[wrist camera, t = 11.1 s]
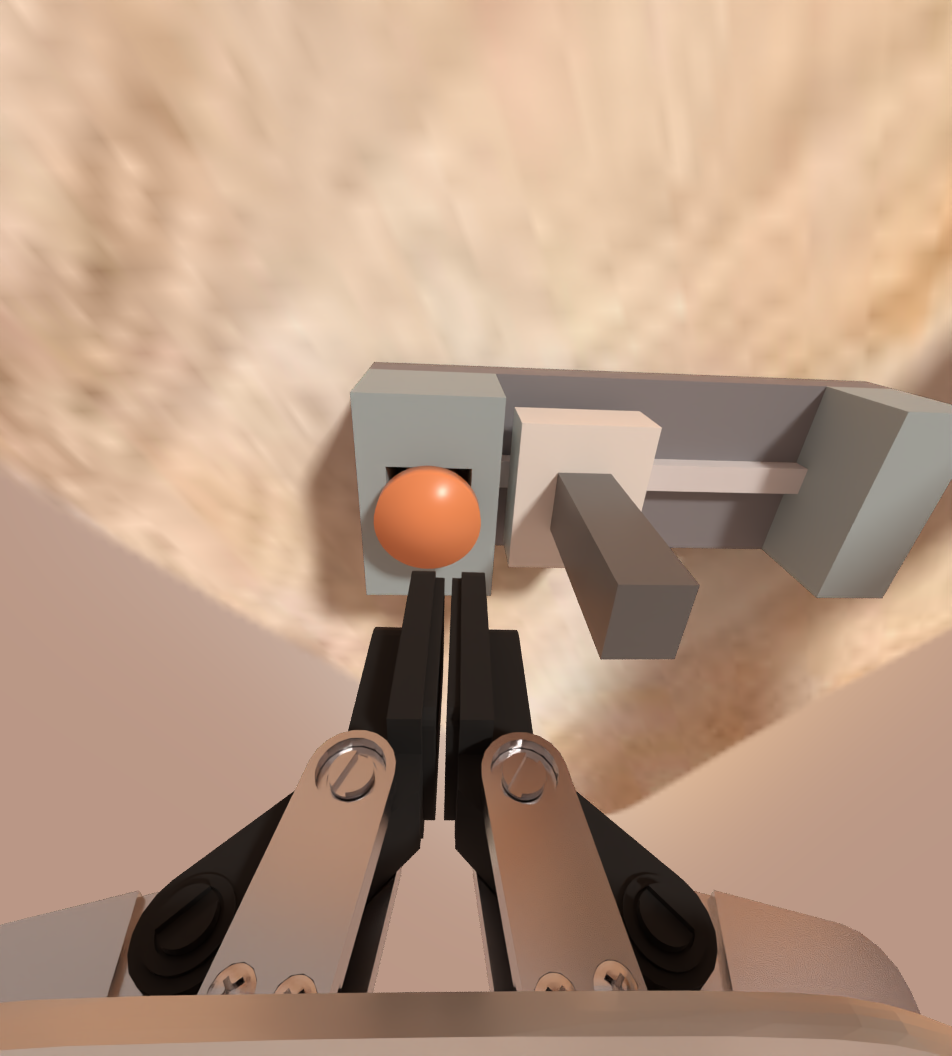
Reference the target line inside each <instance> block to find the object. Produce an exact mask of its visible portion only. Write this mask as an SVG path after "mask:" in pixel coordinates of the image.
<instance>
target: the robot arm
mask: <svg viewBox="0 0 952 1056" xmlns="http://www.w3.org/2000/svg"><path fill="white" fill-rule="evenodd" d="M444 598H445V578H438V577H436V571H412V573H411V579H410V585H409V591H408V596H407V602H406V608H405V614H404V620H403V625H402V628H395V627H375V629H374V631H373V634H372V637H371V641H370V645H369V649H368V653H367V657H366V661H365V665H364V669H363V673H362V677H361V681H360V685H359V690H358V694H357V697H356V702H355V706H354V709H353V714H352V717H351V721H350V725H349V729H348V732H344V733H340V734H338V735H336V736H334V737H332V738H330V739H329V740H327V741H326V742H325V743H323V744H322V745H321V746H320V747H319V748H318V749H317V750H316V751H315V753H314V754H313V756H312V757H311V759H310V760H309V762H308V764H307V766H306V768H305V770H304V772H303V774H302V776H301V779H300V781H299V783H298V785H297V787H296V789H295V791H294V792H292V793H291V794H290V795H288V796H287V797H286V798H284V799H283V800H282V801H280V802H279V803H277V804H276V805H275V806H273V807H272V808H271V809H269V810H268V811H266V812H265V813H264V814H263V815H261V816H260V817H258V818H257V819H255V820H254V821H253V822H252V823H250V824H249V825H247V826H246V827H245V828H243V829H242V830H240V831H239V832H238V833H236V834H235V835H234V836H232V837H231V838H230V839H228V840H227V841H226V842H224V843H223V844H221V845H220V846H219V847H217V848H216V849H215V850H213V851H212V852H211V853H209V854H208V855H206V856H205V857H204V858H202V859H201V860H200V861H198V862H197V863H196V864H194V865H193V866H191V867H190V868H189V869H187V870H186V871H185V872H183V873H182V874H180V875H179V876H178V877H176V878H175V879H174V880H172V881H171V882H170V883H169V884H168V885H167V886H166V887H165V888H163V889H162V890H161V891H160V892H157V893H153V894H150V895H145V896H142V895H141V893H140V892H139V891H135V892H132V893H128V894H124V895H120V896H115V897H111V898H107V899H103V900H99V901H95V902H91V903H87V904H83V905H79V906H75V907H71V908H67V909H63V910H58V911H54V912H50V913H46V914H43V915H38V916H35V917H30V918H26V919H22V920H18V921H14V922H10V923H6V924H2V925H0V1056H952V1026H949V1025H946V1024H944V1023H941V1022H939V1021H936V1020H934V1019H931V1018H928V1017H926V1016H923V1015H921V1014H920V1011H919V1009H918V1007H917V1004H916V1002H915V1000H914V998H913V995H912V993H911V991H910V989H909V988H908V986H907V984H906V982H905V980H904V979H903V977H902V975H901V973H900V972H899V970H898V968H897V967H896V966H895V965H894V964H893V962H892V961H891V960H890V959H889V958H888V957H887V956H886V955H885V953H884V952H883V951H882V950H881V949H880V948H879V947H878V946H877V945H876V944H874V943H873V942H872V941H870V940H869V939H868V938H867V937H865V936H864V935H863V934H861V933H860V932H858V931H856V930H853V929H851V928H849V927H847V926H845V925H842V924H840V923H836V922H832V921H828V920H825V919H821V918H817V917H813V916H809V915H806V914H802V913H798V912H795V911H791V910H787V909H783V908H779V907H775V906H771V905H768V904H764V903H761V902H757V901H753V900H749V899H745V898H742V897H738V896H734V895H730V894H727V893H723V892H719V891H715V890H714V891H713V892H712V894H711V895H707V894H704V893H700V892H696V891H693V890H692V889H691V888H690V887H689V886H688V884H687V883H685V881H684V880H682V879H681V878H680V877H679V876H678V875H677V874H675V873H674V872H673V871H672V870H671V869H669V868H668V867H667V866H666V865H664V864H663V863H662V862H661V861H659V860H658V859H657V858H656V857H655V856H654V855H652V854H651V853H650V852H649V851H648V850H646V849H645V848H644V847H643V846H641V845H640V844H639V843H638V842H637V841H636V840H634V839H633V838H632V837H631V836H629V835H628V834H627V833H626V832H625V831H623V830H622V829H621V828H620V827H619V826H617V825H616V824H615V823H614V822H613V821H611V820H610V819H609V818H608V817H607V816H605V815H604V814H603V813H602V812H601V811H599V810H598V809H597V808H596V807H595V806H593V805H592V804H591V803H590V802H589V801H587V800H586V799H585V798H584V797H583V796H581V795H580V794H579V793H578V792H577V791H576V790H575V788H574V785H573V782H572V779H571V776H570V774H569V771H568V768H567V765H566V763H565V761H564V759H563V757H562V756H561V754H560V752H559V751H558V750H557V749H556V748H555V747H554V746H553V745H552V744H551V743H550V742H548V741H547V740H545V739H543V738H542V737H540V736H537V735H534V734H533V730H532V723H531V716H530V710H529V703H528V696H527V689H526V682H525V675H524V668H523V661H522V654H521V647H520V640H519V634H518V631H517V630H489V628H488V612H487V596H486V581H485V573H484V572H462V574H461V578H452V596H451V620H450V645H449V669H448V693H447V720H446V762H445V803H444V820H455V849H456V850H457V851H458V852H459V853H460V854H461V855H462V857H463V858H464V859H465V860H466V861H467V862H468V863H469V864H470V865H471V866H472V868H473V879H474V886H475V892H476V899H477V907H478V914H479V921H480V928H481V935H482V940H483V948H484V955H485V962H486V969H487V976H488V983H489V990H490V992H405V993H404V992H403V993H373V990H374V986H375V982H376V977H377V974H378V969H379V965H380V961H381V957H382V953H383V948H384V944H385V940H386V936H387V931H388V927H389V923H390V919H391V914H392V910H393V906H394V902H395V898H396V894H397V889H398V885H399V881H400V876H401V868H402V866H403V865H404V864H405V863H406V862H407V861H408V860H409V859H410V858H411V857H412V856H413V855H414V854H415V853H416V852H417V851H418V850H419V849H420V841H421V839H422V838H423V833H424V820H435V813H436V812H435V811H436V795H437V794H436V793H437V776H438V758H439V739H440V721H441V702H442V684H443V656H444Z"/></svg>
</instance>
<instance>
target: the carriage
mask: <svg viewBox="0 0 952 1056" xmlns="http://www.w3.org/2000/svg"><path fill="white" fill-rule="evenodd" d="M661 429H662V427H660V426H659V425H658V424H656V423H655V422H654V421H652V420H651V419H650V418H648V417H647V416H646V415H644V414H643V413H641V412H640V411H618V410H589V409H559V408H530V407H515V408H514V420H513V431H512V443H511V454H510V466H509V477H508V489H507V500H506V512H505V524H504V535H503V542H504V547H505V552H506V557H507V562H508V567H540V568H565V569H566V572H567V574H568V577H569V579H570V582H571V585H572V587H573V590H574V592H575V595H576V597H577V600H578V603H579V605H580V608H581V610H582V613H583V615H584V618H585V621H586V623H587V626H588V628H589V631H590V633H591V636H592V639H593V641H594V644H595V646H596V649H597V651H598V654H599V657H600V659H675V656H676V653H677V650H678V647H679V644H680V641H681V638H682V636H683V633H684V630H685V627H686V624H687V621H688V618H689V615H690V612H691V609H692V606H693V603H694V600H695V597H696V594H697V592H698V589H699V586H700V585H699V584H698V583H697V581H696V580H695V579H694V578H693V576H692V575H691V574H690V573H689V571H688V570H687V569H686V568H685V566H684V565H683V564H682V562H681V561H680V560H679V559H678V557H677V556H676V555H675V554H674V552H673V551H672V550H671V549H670V547H669V546H668V545H667V544H666V542H665V541H664V540H663V539H662V537H661V536H660V535H659V534H658V532H657V531H656V530H655V528H654V527H653V526H652V525H651V523H650V522H649V521H648V520H647V518H646V517H645V516H644V515H643V513H642V512H641V511H642V507H643V503H644V499H645V495H646V491H647V487H648V483H649V479H650V474H651V470H652V466H653V462H654V458H655V454H656V450H657V446H658V442H659V438H660V433H661Z"/></svg>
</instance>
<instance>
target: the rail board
mask: <svg viewBox="0 0 952 1056" xmlns="http://www.w3.org/2000/svg"><path fill="white" fill-rule="evenodd" d="M350 398H351V410H352V422H353V434H354V446H355V459H356V471H357V483H358V495H359V507H360V519H361V531H362V543H363V556H364V568H365V580H366V592H367V595H408V591H409V585H410V579H411V573H412V571H436V577H438V578H445V595H452V578H461V574H462V572H484V573H485V581H486V596H491V588H492V575H493V562H494V549H495V545H504V542H503V535H504V524H505V512H506V500H507V489H508V477H509V466H510V454H511V443H512V431H513V420H514V408H515V407H530V408H559V409H589V410H618V411H640V412H641V413H643V414H644V415H646V416H647V417H648V418H650V419H651V420H652V421H654V422H655V423H656V424H658V425H659V426H660V427H662V429H661V433H660V438H659V442H658V446H657V450H656V454H655V458H654V462H653V466H652V470H651V474H650V479H649V483H648V487H647V491H646V495H645V499H644V503H643V507H642V511H641V512H642V513H643V515H644V516H645V517H646V518H647V520H648V521H649V522H650V523H651V525H652V526H653V527H654V528H655V530H656V531H657V532H658V534H659V535H660V536H661V537H662V539H663V540H664V541H665V542H666V544H667V545H668V546H669V547H670V548H733V549H762V550H763V551H765V552H766V553H767V554H768V555H769V556H770V557H771V558H772V559H774V560H775V561H776V562H777V563H778V564H779V565H780V566H781V567H783V568H784V569H785V570H786V571H787V572H788V573H789V574H790V575H791V576H793V577H794V578H795V579H796V580H797V581H798V582H799V583H800V584H802V585H803V586H804V587H805V588H806V589H807V590H808V591H809V592H811V593H812V594H813V595H814V596H815V597H816V598H883V596H884V594H885V593H886V591H887V589H888V588H889V586H890V584H891V582H892V581H893V579H894V577H895V576H896V574H897V572H898V570H899V569H900V567H901V565H902V564H903V562H904V560H905V558H906V557H907V555H908V553H909V551H910V550H911V548H912V546H913V545H914V543H915V541H916V539H917V538H918V536H919V534H920V533H921V531H922V529H923V527H924V526H925V524H926V522H927V521H928V519H929V517H930V515H931V514H932V512H933V510H934V509H935V507H936V505H937V503H938V502H939V500H940V498H941V497H942V495H943V493H944V491H945V490H946V488H947V486H948V484H949V483H950V481H951V479H952V405H951V404H947V403H944V402H940V401H936V400H933V399H929V398H925V397H921V396H918V395H914V394H910V393H907V392H903V391H899V390H895V389H892V388H888V387H884V386H880V385H877V384H873V383H869V382H862V381H837V380H811V379H786V378H761V377H736V376H710V375H685V374H660V373H635V372H609V371H584V370H559V369H534V368H508V367H483V366H458V365H433V364H407V363H382V362H374V363H373V364H372V366H371V367H370V368H369V369H368V371H367V372H366V373H365V374H364V375H363V377H362V378H361V379H360V380H359V382H358V383H357V384H356V385H355V387H354V388H353V389H352V390H351V392H350ZM417 466H437V467H442V468H458V475H459V476H461V477H462V478H463V479H464V480H465V481H466V482H467V483H468V484H469V485H470V486H471V488H472V489H473V491H474V493H475V495H476V497H477V500H478V503H479V509H480V517H481V528H480V533H479V537H478V539H477V541H476V543H475V545H474V546H473V548H472V549H471V550H470V552H469V553H468V554H466V555H465V556H464V557H463V558H462V559H460V560H459V561H457V562H455V563H453V564H451V565H448V566H445V567H441V568H435V569H423V568H416V567H412V566H409V565H406V564H404V563H402V562H400V561H398V560H396V559H395V558H393V557H392V556H391V555H390V554H389V553H388V552H386V550H385V549H384V548H383V547H382V545H381V544H380V542H379V540H378V538H377V536H376V533H375V529H374V513H375V509H376V505H377V502H378V499H379V496H380V493H381V491H382V489H383V488H384V487H385V485H386V484H387V483H388V482H389V481H390V479H392V478H393V477H394V476H395V475H397V474H398V473H400V472H402V471H404V470H406V467H417Z"/></svg>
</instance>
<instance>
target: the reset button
mask: <svg viewBox="0 0 952 1056" xmlns="http://www.w3.org/2000/svg"><path fill="white" fill-rule="evenodd" d="M480 528H481V517H480V509H479V503H478V500H477V497H476V495H475V493H474V491H473V489H472V488H471V486H470V485H469V484H468V483H467V482H466V481H465V480H464V479H463V478H462V477H461V476H459V475H458V468H442V467H437V466H417V467H406V470H404V471H402V472H400V473H398V474H397V475H395V476H394V477H393V478H392V479H390V481H389V482H388V483H387V484H386V485H385V487H384V488H383V489H382V491H381V493H380V496H379V499H378V502H377V505H376V509H375V513H374V529H375V533H376V536H377V538H378V540H379V542H380V544H381V545H382V547H383V548H384V549H385V550H386V552H388V553H389V554H390V555H391V556H392V557H393V558H395V559H396V560H398V561H400V562H402V563H404V564H406V565H409V566H412V567H416V568H423V569H435V568H441V567H445V566H448V565H451V564H453V563H455V562H457V561H459V560H460V559H462V558H463V557H464V556H465V555H466V554H468V553H469V552H470V550H471V549H472V548H473V546H474V545H475V543H476V541H477V539H478V537H479V533H480Z"/></svg>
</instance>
